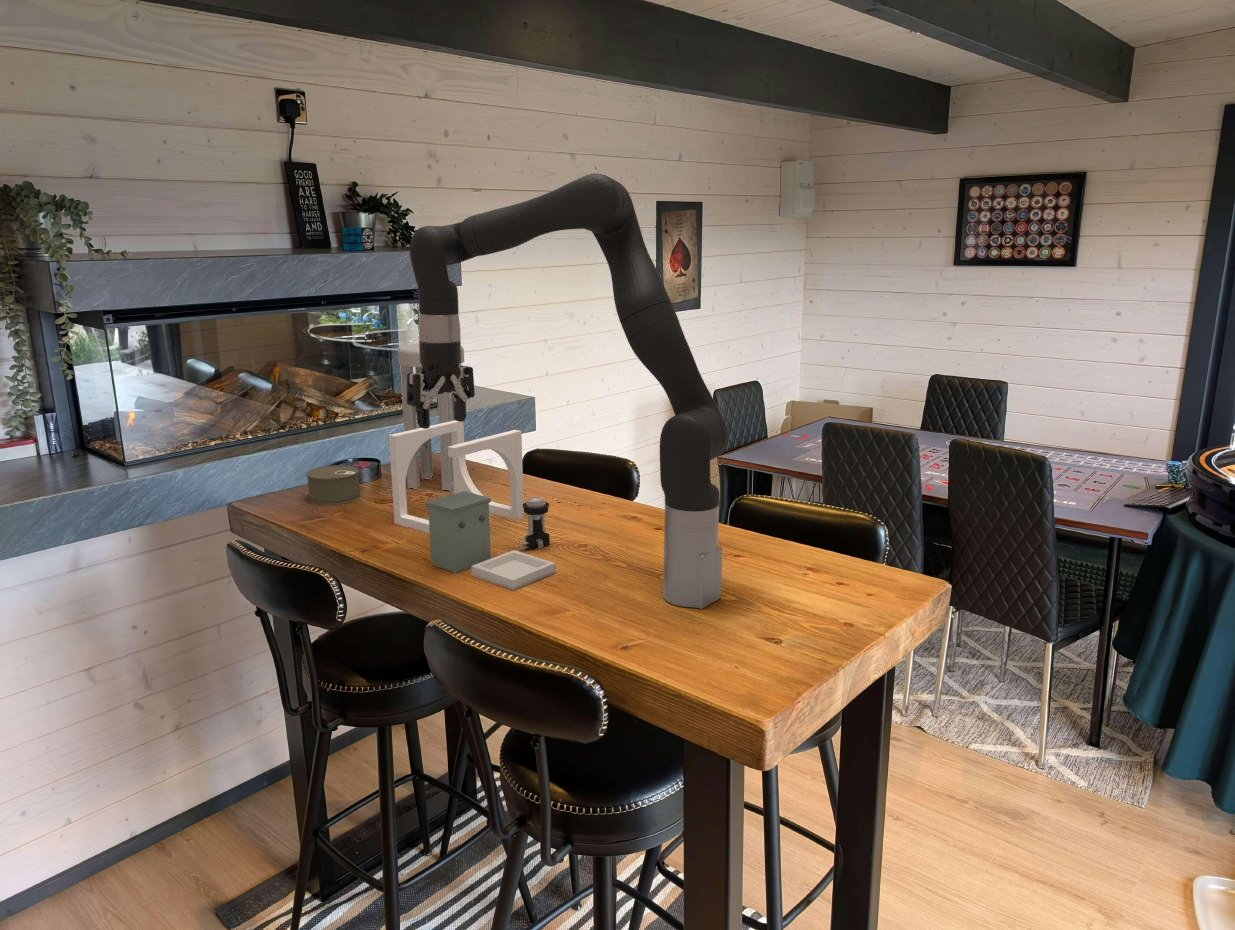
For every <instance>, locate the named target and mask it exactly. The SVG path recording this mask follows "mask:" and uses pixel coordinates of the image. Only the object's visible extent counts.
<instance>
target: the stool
mask: <svg viewBox="0 0 1235 930" xmlns="http://www.w3.org/2000/svg"><path fill="white" fill-rule="evenodd" d="M396 350H397V363H398V364H399V367H400V382H401V383H400V386H401V400H402V416H403V417H402V418H403V432H405V431H409V430H414V429H418V428H420V427H419V426H418V428H417V409H416V407H414V406H411V405H408V404H407V374H408V373H414V371H415V374H419V373H421V371H422V365H421V363H420V352H419V343H412V344H404V345H402V346H398V347H397V349H396ZM464 363H465V349H464V346H462V345H461V363H460V364H459V368H460V367H461V366H462V364H464ZM414 368H415V369H414ZM422 382H423V381H422ZM458 382H459V383H460V385H461V378H460V377H459V379H458ZM422 385H423V383H422V384H421V387H422ZM427 392H430V391H429V390H428V391H427ZM436 396H437V412H438V415H437V416H438V424H441V423H445V422H450V421H454V420H455V418H454V402H455V401H456V400H455V399H454V397H453V396H452V394H451V393H450V392H449V393H447V392H444V393H442V394H437V395H436ZM427 409H429V424H430V425H431V415H430V414H431V413H430V412H431V411H430V405H429V406H428V408H427ZM463 426H464V427H465V421H463ZM465 440H466V439H465V438H464V442H466V441H465ZM449 446H452V436H451V432H450V433H446V434H442V435H439V450H440V470H441V471H440V472H441V490H449V491H448V492H452V491H454V489H453V488H454V479H453V457H449V456H448V447H449ZM419 456H420V465H419ZM433 470H434V469H433V450H432V438H430V439H428V440H427V441H425V442H424V443H423V444H422V445H421V446H420V447H419V448H418V450H417V451H416V452H415V454H414V455H413V457H412V459H411V461H410V464H409V467H408V470H407V475H406V482H407V483H406V485H407V489H408V488H418V487H419V486H420V487H421V484H420V474H421V479H422V478H431V477H432V476H433V477H434V471H433ZM420 487H419V488H420ZM419 488H418V489H419ZM451 490H452V491H451Z"/></svg>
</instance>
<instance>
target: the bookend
mask: <svg viewBox="0 0 1235 930" xmlns="http://www.w3.org/2000/svg"><path fill="white" fill-rule="evenodd" d="M450 432H451V436H452V446H449V447H448V456H449V457H453V479H454V489H453V494H455V493H459V492H462V491H466V492H470V493H474V494H478V495H481V496H484V495H483V493H481V491H479V489H478V488H477V487H476V485H475V484H474V482H473V480H472V478H471V476H470V474H469V471H468V467H467V464H466V463H467V462H466V455H470V454H474V453H478V452H482V451H486V450H491V451H493V452H495V453H496V454H498V455H499V457H500V458H501V459H502V461H503V462H504V464H505V467H506V469H507V472H508V477H509V491H510V492H509V495H510V505H506V504H502V503H499V502H495V501H493V500H491V502H490V503H489V514H492V515H497V516H501V517H504V518H508V519H513V520H521V519H523V518H524V517H525V516H524V515H525V512H524V508H523V504H524V480H523V479H524V475H523V473H524V471H523V440H522V439H523V438H522V432H523V431H522V430H519V429H513V430H512V429H511V430H509V431H505V432H500V433H497V434H492V435H490V436H485V437H480V438H477V439H472V440H469V441H465V442H464V439H465V425H464V426H463V422H459V421H456V420H454V421H452V420H451V421H450V422H445V423H441V424H439V423H437V424H432V425H430V427H429V428H427V429H424V428H419V427H418V428H417V429H414V430H409V431H405V432H404V431H402V432H398V433H397V432H396V433H392V434H388V439H389V457H390V470H391V471H390V473H391V489H392V504H393V519H394V524H395V525H398V524H399V525H398V526H401V525H402V527H406V528H408V527H410V528H409V529H412V528H413V529H412V530H415V531H420V532H423V533H426V534H430V532H429V519H425V518H422V517H418V516H415V515H414V516H413V515H411V514H408V506H407V505H408V504H407V503H408V502H407V490H406V489H407V488H406V485H407V483H406V482H407V470H408V467H409V464H410V461H411V459H412V457H413V455H414V454H415V452H416V451H417V450H418V448H419V447H420V446H421V445H422V444H423V443H424V442H425V441H427V440H428V439H430V438H431V439H432V438H435V437H437V436H440V435H442V434H446V433H450Z"/></svg>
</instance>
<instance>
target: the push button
mask: <svg viewBox="0 0 1235 930" xmlns="http://www.w3.org/2000/svg"><path fill="white" fill-rule="evenodd" d="M549 507H550V503H549V502H547V501H545V498H544V497H540V496H537V497H536V496H535V497H529V498H527V499H526V502H523V508H524V514H525V515H527V531H528V532H526V533H527V535H525V536H524V541H523V542H520V543H519V545H521V547H519V549H521V550H523V549H528V550H529V551H532V550H536V549H542V548H544V547H550V540H551V539H550V533H548V532H546V531H547V530H546V524H545V522H546V521H545V520H546V519H545V516H546V515H545V514H548V512H549ZM523 545H524V546H523Z"/></svg>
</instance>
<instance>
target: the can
mask: <svg viewBox="0 0 1235 930" xmlns="http://www.w3.org/2000/svg"><path fill="white" fill-rule="evenodd" d="M306 477H307V487H308V495H309V503H310V504H312V503H313V505H315V504H316V506H320V505H331V506H330V507H333V505H337V506H342V504H344V505H349V504H352V503H354V502H353V501H355V502H357V501H358V500H357V499H359V498H360V499H361V491H360V469H359V467H356V466H353V465H346V464H345V465H343V464H341V465H340V464H339V465H338V464H337V465H326V466H320V467H316V468H313V469H309V470H308V471H307V472H306ZM360 499H359V500H360ZM356 500H357V501H356ZM351 502H352V503H351ZM348 503H349V504H348ZM317 504H318V505H317Z"/></svg>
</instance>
